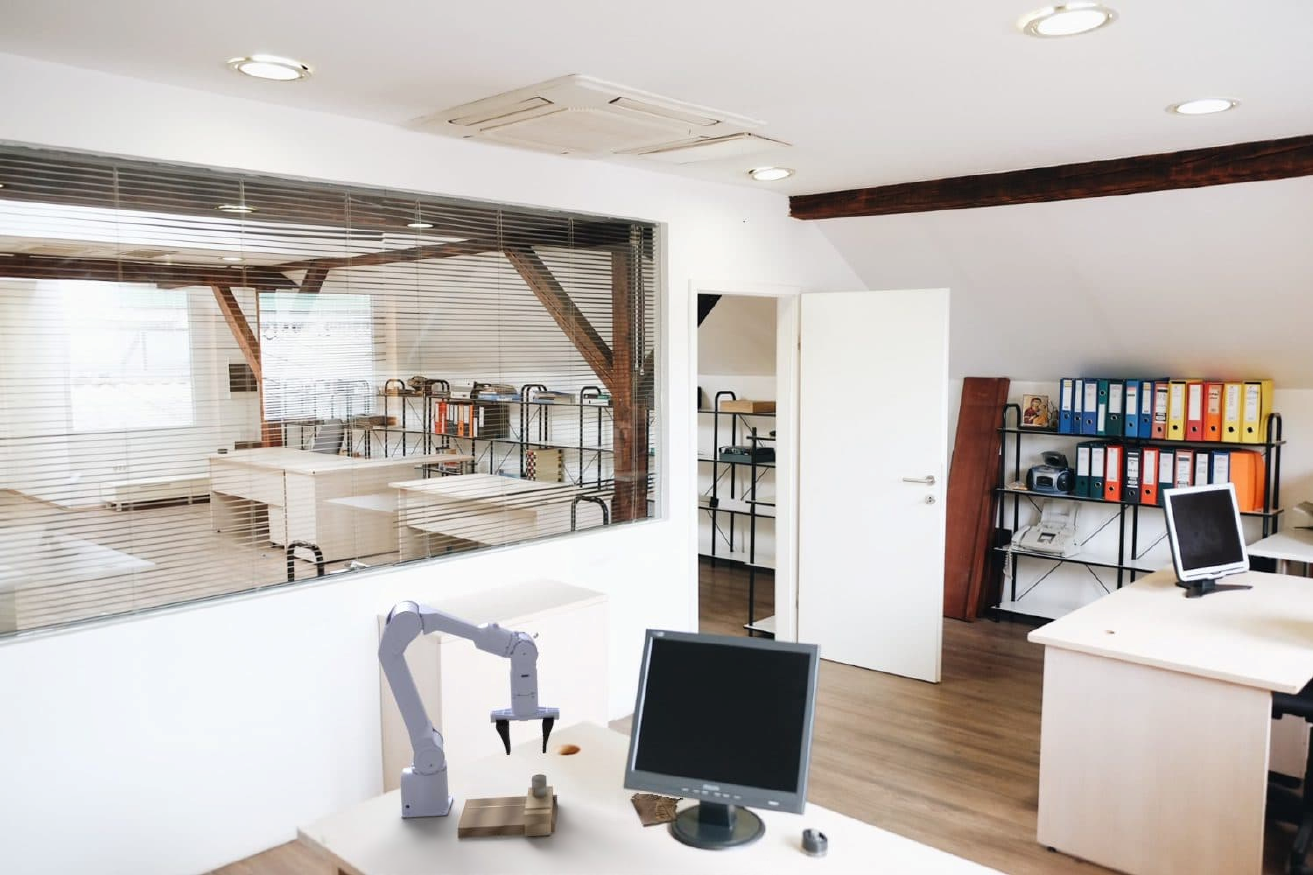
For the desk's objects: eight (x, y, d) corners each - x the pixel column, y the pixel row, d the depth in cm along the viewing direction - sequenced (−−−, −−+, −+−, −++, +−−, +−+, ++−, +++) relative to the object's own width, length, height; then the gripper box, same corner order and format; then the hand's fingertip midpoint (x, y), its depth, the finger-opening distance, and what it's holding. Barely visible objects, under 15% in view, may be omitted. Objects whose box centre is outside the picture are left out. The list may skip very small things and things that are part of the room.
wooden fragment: (672, 830, 189) (672, 825, 189) (619, 825, 191) (618, 820, 191) (693, 773, 214) (693, 768, 214) (646, 769, 216) (646, 765, 216)
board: (458, 837, 188) (457, 827, 187) (466, 808, 200) (466, 798, 199) (554, 832, 189) (554, 822, 188) (557, 803, 201) (557, 794, 200)
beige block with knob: (525, 835, 186) (523, 796, 186) (529, 807, 198) (527, 770, 197) (553, 834, 187) (552, 795, 186) (556, 806, 198) (555, 769, 197)
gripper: (487, 699, 199) (490, 761, 200) (557, 696, 199) (559, 758, 201) (491, 687, 206) (494, 747, 207) (558, 684, 206) (561, 744, 208)
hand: (526, 752), depth 204 cm, fingers open, 7 cm apart
